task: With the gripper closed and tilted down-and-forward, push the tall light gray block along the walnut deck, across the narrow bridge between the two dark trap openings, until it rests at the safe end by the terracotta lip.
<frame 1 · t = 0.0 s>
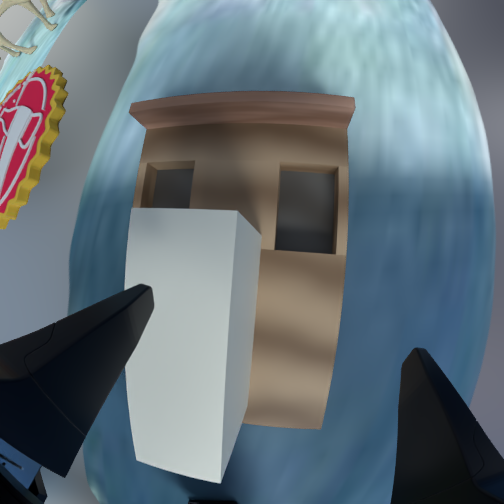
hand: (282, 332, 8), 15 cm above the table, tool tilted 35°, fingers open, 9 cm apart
decorative sign: (12, 146, 30), on the table
sculpture: (36, 45, 32), on the table
trap deck: (232, 271, 24), on the table
light gray block: (222, 323, 21), point 2 cm above the table, touching trap deck
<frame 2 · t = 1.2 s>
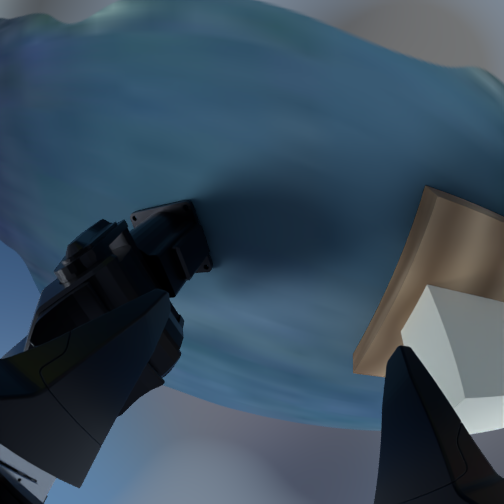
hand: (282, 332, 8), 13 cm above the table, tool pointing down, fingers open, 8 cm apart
trap deck: (490, 308, 19), on the table
light gray block: (473, 320, 18), point 2 cm above the table, touching trap deck
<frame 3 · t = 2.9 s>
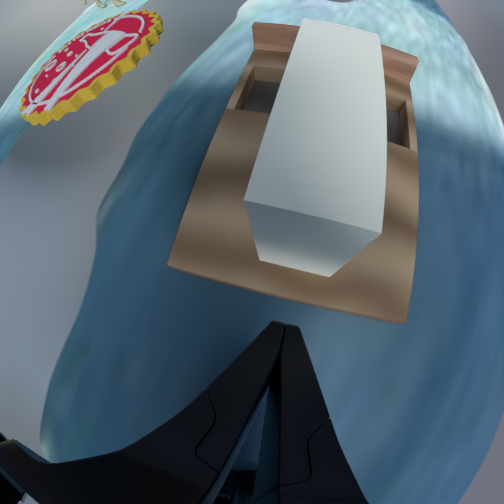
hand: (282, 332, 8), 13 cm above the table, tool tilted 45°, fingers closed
decorative sign: (88, 62, 34), on the table
sculpture: (124, 2, 41), on the table
trap deck: (317, 156, 24), on the table
light gray block: (313, 180, 20), point 2 cm above the table, touching trap deck
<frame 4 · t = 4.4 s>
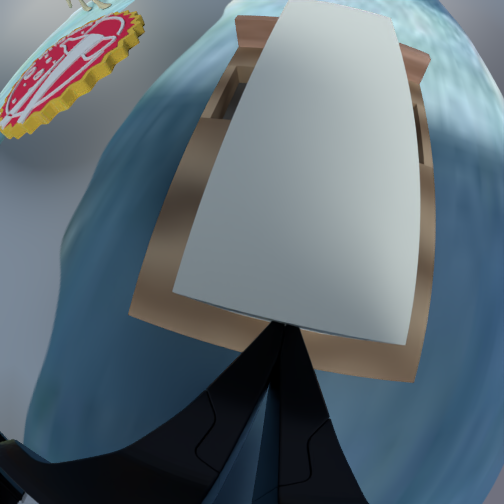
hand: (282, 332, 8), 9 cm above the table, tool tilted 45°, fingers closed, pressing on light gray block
decorative sign: (66, 69, 30), on the table
sculpture: (110, 4, 38), on the table
trap deck: (312, 174, 20), on the table
light gray block: (306, 208, 16), point 2 cm above the table, touching gripper, trap deck
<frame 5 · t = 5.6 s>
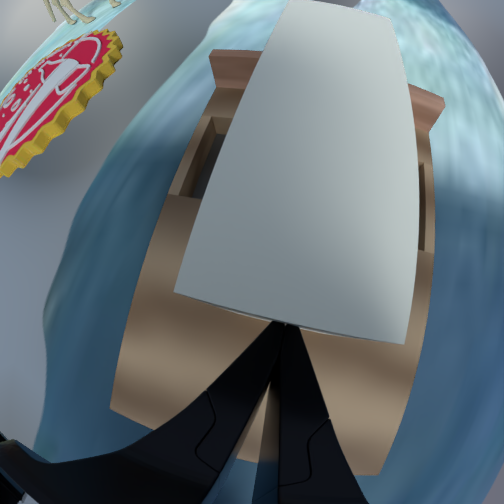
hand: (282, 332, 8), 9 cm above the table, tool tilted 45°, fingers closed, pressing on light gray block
decorative sign: (44, 98, 28), on the table
sculpture: (94, 17, 36), on the table
trap deck: (294, 261, 18), on the table
light gray block: (306, 208, 17), point 3 cm above the table, touching gripper
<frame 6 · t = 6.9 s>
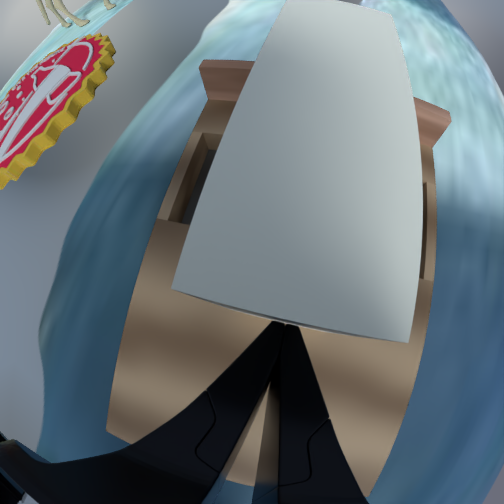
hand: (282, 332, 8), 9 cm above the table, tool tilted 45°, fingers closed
decorative sign: (37, 106, 28), on the table
sculpture: (89, 20, 35), on the table
trap deck: (288, 288, 18), on the table
light gray block: (307, 205, 16), point 2 cm above the table, touching trap deck
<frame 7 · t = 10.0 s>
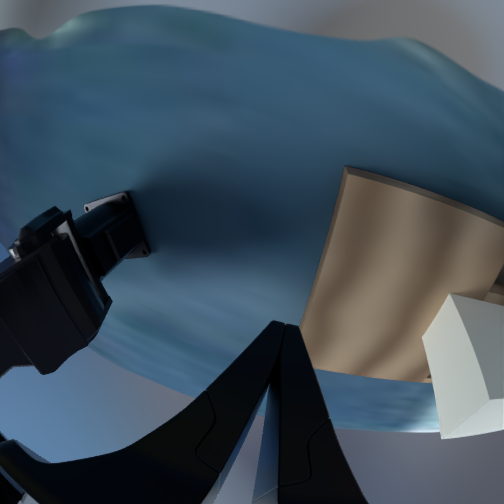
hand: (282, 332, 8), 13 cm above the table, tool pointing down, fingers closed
trap deck: (446, 302, 20), on the table
light gray block: (487, 326, 18), point 2 cm above the table, touching trap deck
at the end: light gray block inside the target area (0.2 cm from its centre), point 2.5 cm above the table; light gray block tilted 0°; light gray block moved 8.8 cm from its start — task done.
